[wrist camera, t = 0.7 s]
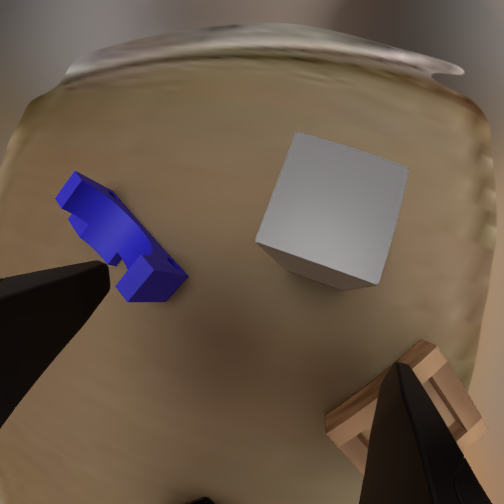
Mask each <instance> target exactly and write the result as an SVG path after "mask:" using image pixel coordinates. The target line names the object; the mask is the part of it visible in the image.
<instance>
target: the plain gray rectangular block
mask: <svg viewBox="0 0 504 504" xmlns="http://www.w3.org/2000/svg"><path fill="white" fill-rule="evenodd" d="M408 172H409V168H408V167H406V166H403V165H400V164H398V163H395V162H392V161H390V160H387V159H384V158H381V157H379V156H376V155H373V154H370V153H367V152H364V151H361V150H358V149H355V148H352V147H349V146H345V145H342V144H339V143H336V142H332V141H329V140H326V139H322V138H319V137H315V136H311V135H308V134H304V133H300V132H296V133H295V136H294V138H293V141H292V144H291V146H290V149H289V152H288V154H287V157H286V160H285V162H284V165H283V168H282V170H281V173H280V176H279V178H278V181H277V184H276V186H275V189H274V192H273V194H272V197H271V200H270V202H269V205H268V208H267V210H266V213H265V216H264V218H263V221H262V223H261V226H260V229H259V231H258V234H257V237H256V239H255V242H256V243H257V244H258V245H259V246H260V247H262V248H263V249H264V250H265V251H266V252H267V253H268V254H269V255H270V256H271V257H273V258H274V259H275V260H276V261H277V262H278V263H279V264H280V265H281V266H282V267H284V268H285V269H286V270H287V271H289V272H292V273H295V274H298V275H300V276H303V277H306V278H309V279H312V280H314V281H317V282H320V283H323V284H325V285H328V286H331V287H334V288H337V289H339V290H342V291H344V290H350V289H357V288H363V287H369V286H375V285H378V283H379V280H380V277H381V274H382V271H383V268H384V265H385V261H386V258H387V255H388V251H389V248H390V245H391V241H392V238H393V234H394V230H395V227H396V223H397V219H398V215H399V211H400V207H401V203H402V199H403V195H404V190H405V186H406V181H407V177H408Z"/></svg>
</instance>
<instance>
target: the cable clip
mask: <svg viewBox="0 0 504 504" xmlns="http://www.w3.org/2000/svg"><path fill="white" fill-rule="evenodd" d="M55 199H56V200H57V202H58V204H59V205H60V207H61V209H64V210H66V211H68V212H70V213H72V214H71V216H70V217H69V219H68V220H69V221H70V223H71V225H72V226H73V228H74V229H75V231H76V232H77V234H78V235H79V237H80V238H82V239H83V240H84V241H85V242H87V243H88V244H89V245H90V246H91V247H92V248H93V249H94V250H95V251H96V252H97V253H98V254H99V255H100V256H101V257H102V258H103V259H104V260H105V262H106V263H107V264H108V265H113V266H117V264H118V263H119V262H120V261H121V259H123V261H124V263H125V264H126V267H127V269H128V271H127V272H126V273H125V275H124V276H123V277H122V279H121V280H120V281H119V282H118V284H117V285H116V286H115V287H116V288H117V289H118V291H119V292H120V293H121V294H122V296H123V297H124V298H125V300H126V301H127V302H166V301H167V300H168V299H169V298H170V297H171V295H172V294H173V293H174V292H175V291H176V290H177V289H178V287H179V286H180V285H181V284H182V283H183V282H184V281H185V279H186V278H187V277H188V275H187V274H186V273H185V272H184V270H183V269H182V268H181V267H180V266H179V265H178V264H177V263H176V262H175V261H174V260H173V259H172V258H171V256H170V255H169V254H168V253H167V252H166V251H165V250H164V249H163V248H162V247H161V246H160V244H159V243H158V242H157V241H156V240H155V239H154V238H153V237H152V236H151V234H150V233H149V232H148V231H147V230H146V229H145V228H144V227H143V225H142V224H141V223H140V222H139V221H138V220H137V219H136V218H135V216H134V215H133V214H132V213H131V212H130V211H129V209H128V208H127V207H126V206H125V205H124V204H123V203H122V201H121V200H120V199H119V198H118V197H117V195H116V194H115V193H114V192H113V191H112V190H110V189H108V188H106V187H104V186H103V185H101V184H99V183H97V182H95V181H93V180H91V179H89V178H88V177H86V176H84V175H82V174H80V173H78V172H76V171H74V173H73V174H72V176H71V177H70V178H69V180H68V181H67V182H66V184H65V185H64V187H63V188H62V189H61V191H60V192H59V194H58V195H57V197H56V198H55Z"/></svg>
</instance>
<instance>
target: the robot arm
mask: <svg viewBox="0 0 504 504" xmlns="http://www.w3.org/2000/svg"><path fill="white" fill-rule="evenodd" d="M109 290H110V277H109V268H108V266H107V264H105V263H103V262H101V261H97V260H96V261H90V262H85V263H79V264H74V265H69V266H63V267H58V268H53V269H47V270H42V271H37V272H32V273H27V274H21V275H16V276H11V277H6V278H4V279H3V278H1V279H0V428H1V427H2V425H3V424H4V423H5V421H6V420H7V419H8V417H9V416H10V415H11V413H12V412H13V411H14V409H15V407H16V406H17V405H18V404H19V402H20V401H21V400H22V399H23V397H24V396H25V395H26V393H27V392H28V391H29V390H30V388H31V387H32V386H33V385H34V383H35V382H36V381H37V380H38V378H39V377H40V376H41V375H42V373H43V372H44V371H45V370H46V369H47V367H48V366H49V365H50V364H51V363H52V361H53V360H54V359H55V358H56V357H57V355H58V354H59V353H60V352H61V351H62V350H63V348H64V347H65V346H66V345H67V344H68V343H69V341H70V340H71V339H72V338H73V337H74V336H75V335H76V333H77V332H78V331H79V330H80V329H81V328H82V327H83V325H84V324H85V323H86V322H87V320H88V319H89V318H90V316H91V315H92V313H93V312H94V311H95V309H96V308H97V307H98V305H99V304H100V303H101V301H102V300H103V299H104V297H105V296H106V295H107V293H108V292H109ZM204 501H205V502H207V503H205V502H204ZM186 504H214V503H213V502H212V501H211V500H210V499H208V498H206V497H203V498H200V499H198V500H195V501H192V502H189V503H186ZM359 504H492V503H491V501H490V499H489V498H488V496H487V495H486V493H485V491H484V490H483V488H482V486H481V485H480V484H479V482H478V480H477V478H476V476H475V474H474V473H473V471H472V469H471V467H470V465H469V464H468V462H467V460H466V458H464V455H463V453H462V451H461V449H460V447H459V446H458V444H457V442H456V440H455V439H454V437H453V435H452V433H451V432H450V430H449V428H448V426H447V425H446V423H445V421H444V420H443V418H442V416H441V415H440V413H439V411H438V410H437V408H436V406H435V405H434V403H433V401H432V400H431V398H430V397H429V395H428V393H427V392H426V390H425V388H424V387H423V385H422V384H421V382H420V381H419V379H418V377H417V376H416V374H415V373H414V371H413V370H412V368H411V367H410V365H409V364H407V363H403V362H399V361H396V362H394V363H393V364H392V366H391V368H390V369H389V371H388V372H387V374H386V376H385V377H384V379H383V381H382V383H381V385H380V389H379V394H378V399H377V404H376V409H375V414H374V418H373V423H372V427H371V432H370V437H369V445H368V452H367V459H366V466H365V473H364V479H363V484H362V490H361V495H360V501H359Z"/></svg>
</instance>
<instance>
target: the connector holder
mask: <svg viewBox="0 0 504 504" xmlns="http://www.w3.org/2000/svg"><path fill="white" fill-rule="evenodd" d="M398 361H399V362H403V363H407V364H409V365H410V367H411V368H412V370H413V371H414V373H415V374H416V376H417V377H418V379H419V381H420V382H421V384H422V385H423V387H424V388H425V390H426V392H427V393H428V395H429V397H430V398H431V400H432V401H433V403H434V405H435V406H436V408H437V410H438V411H439V413H440V415H441V416H442V418H443V420H444V421H445V423H446V425H447V426H448V428H449V430H450V432H451V433H452V435H453V437H454V439H455V440H456V442H457V444H458V446H459V447H460V449H461V451H462V452H463V451H465V450H466V449H467V448H468V447H469V446H470V445H471V444H472V443H474V442H475V441H476V440H477V439H478V438H479V437H480V436H481V435H482V434H483V433H484V432H485V431H486V430H487V429H488V427H487V426H486V424H485V422H484V420H483V418H482V417H481V415H480V413H479V411H478V410H477V408H476V406H475V405H474V403H473V401H472V400H471V398H470V396H469V395H468V393H467V391H466V390H465V388H464V386H463V385H462V383H461V382H460V380H459V378H458V377H457V375H456V374H455V372H454V371H453V369H452V368H451V366H450V364H449V363H448V361H447V360H446V358H445V357H444V355H443V354H442V352H441V351H440V349H439V348H438V347H437V346H436V345H433V344H431V343H428V342H426V341H423V340H420V341H419V342H418V343H417V344H416V345H414V346H413V347H412V348H411V349H410V350H409V351H408V352H407V353H406V354H404V355H403V356H402V357H401V358H400V359H399V360H398ZM390 368H391V366H390V367H389V368H388V369H387V370H386V371H384V372H383V373H382V374H381V375H379V376H378V377H377V378H376V379H374V380H373V381H372V382H371V383H369V384H368V385H367V386H366V387H364V388H363V389H362V390H360V391H359V392H358V393H356V394H355V395H354V396H352V397H351V398H350V399H348V400H347V401H345V402H344V403H343V404H341V405H340V406H338V407H337V408H336V409H334V410H333V411H331V412H330V413H328V414H327V415H325V422H326V434H327V435H328V436H329V438H330V439H331V440H332V441H333V442H334V443H335V444H336V446H337V447H338V448H339V449H340V450H341V451H342V452H343V453H344V455H345V456H346V457H347V458H348V459H349V460H350V461H351V462H352V463H353V464H354V466H355V467H356V468H357V469H358V470H359V471H360V472H361V473H362V474H363V475H364V473H365V466H366V459H367V452H368V445H369V437H370V432H371V427H372V423H373V418H374V414H375V409H376V404H377V399H378V394H379V389H380V385H381V383H382V381H383V379H384V377H385V376H386V374H387V372H388V371H389V369H390Z"/></svg>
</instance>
